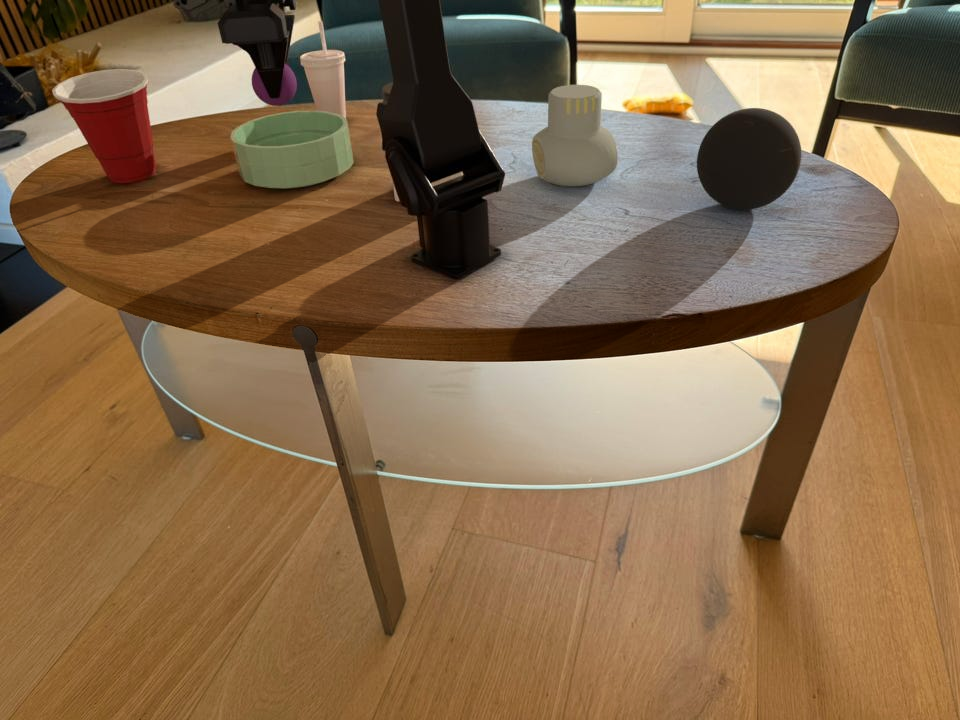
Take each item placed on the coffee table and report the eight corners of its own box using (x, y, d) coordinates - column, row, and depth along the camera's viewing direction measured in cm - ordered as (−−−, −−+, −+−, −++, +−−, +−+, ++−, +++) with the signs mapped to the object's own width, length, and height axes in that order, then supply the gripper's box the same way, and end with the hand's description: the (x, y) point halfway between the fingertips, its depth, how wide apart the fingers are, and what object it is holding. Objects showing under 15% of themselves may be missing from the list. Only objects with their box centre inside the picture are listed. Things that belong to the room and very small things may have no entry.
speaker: (702, 182, 81) (714, 92, 75) (795, 194, 77) (816, 100, 71) (681, 217, 74) (693, 120, 68) (783, 231, 70) (805, 130, 64)
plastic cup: (83, 198, 87) (43, 97, 80) (92, 169, 95) (56, 75, 88) (176, 183, 89) (145, 84, 82) (177, 156, 98) (148, 64, 91)
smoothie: (346, 130, 103) (329, 26, 95) (305, 129, 104) (285, 26, 96) (360, 116, 108) (346, 16, 100) (321, 116, 109) (303, 17, 101)
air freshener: (620, 192, 80) (627, 101, 74) (549, 200, 79) (549, 109, 73) (593, 158, 89) (597, 75, 83) (529, 165, 88) (528, 82, 82)
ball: (309, 103, 83) (300, 58, 80) (273, 114, 80) (263, 68, 77) (284, 96, 86) (275, 52, 83) (248, 106, 83) (238, 61, 80)
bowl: (376, 165, 91) (370, 122, 88) (284, 202, 83) (274, 156, 79) (310, 144, 99) (302, 104, 96) (220, 176, 91) (208, 133, 87)
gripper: (182, -69, 80) (218, 75, 89) (142, -49, 65) (190, 123, 74) (282, -75, 81) (308, 68, 90) (266, -56, 66) (298, 114, 75)
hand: (277, 91), depth 82 cm, fingers closed on ball, 5 cm apart
